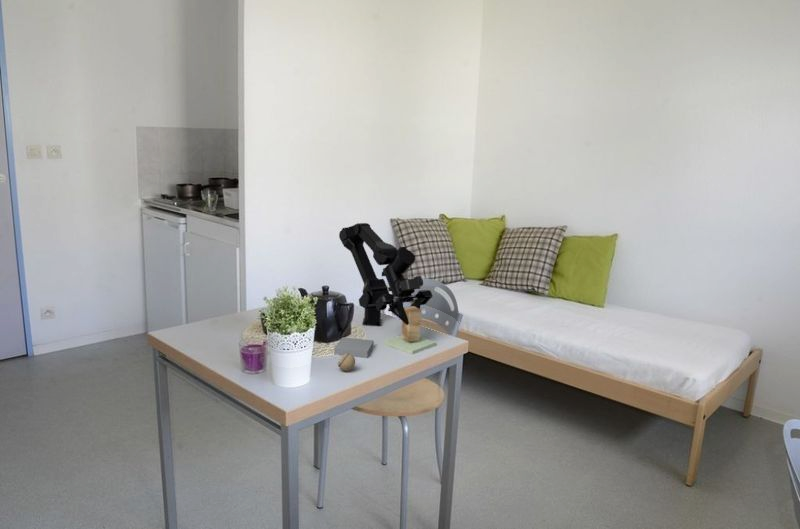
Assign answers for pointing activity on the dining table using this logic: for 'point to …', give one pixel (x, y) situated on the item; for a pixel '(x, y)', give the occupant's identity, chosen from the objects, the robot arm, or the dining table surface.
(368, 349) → the grey block
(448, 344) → the dining table surface
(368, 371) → the dining table surface
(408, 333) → the oak block
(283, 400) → the dining table surface
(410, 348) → the sage mat
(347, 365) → the door knob
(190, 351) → the dining table surface
